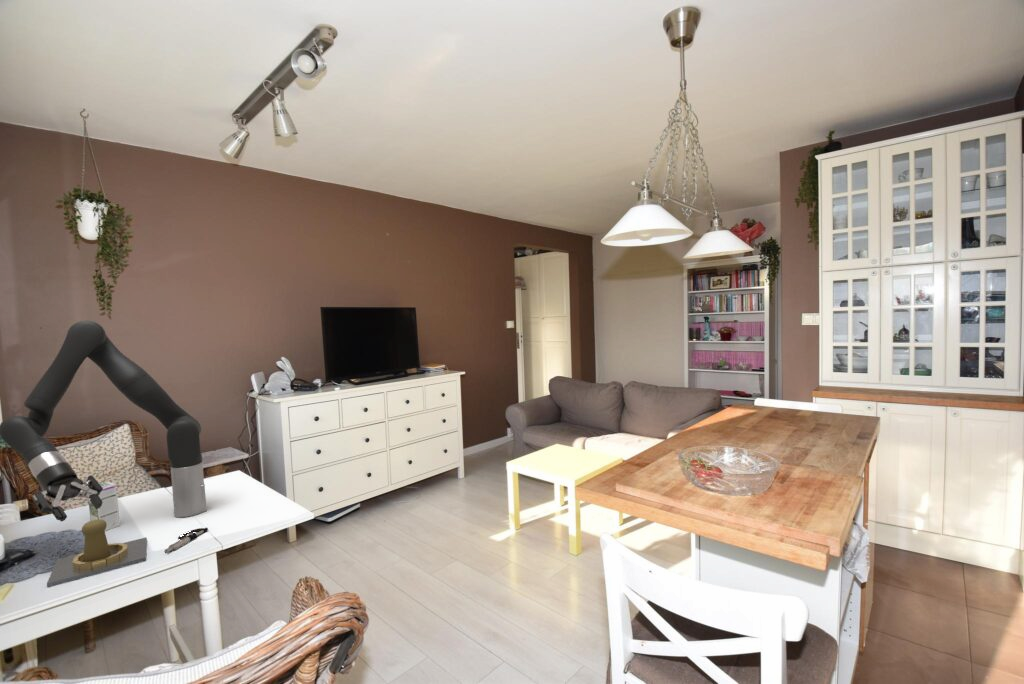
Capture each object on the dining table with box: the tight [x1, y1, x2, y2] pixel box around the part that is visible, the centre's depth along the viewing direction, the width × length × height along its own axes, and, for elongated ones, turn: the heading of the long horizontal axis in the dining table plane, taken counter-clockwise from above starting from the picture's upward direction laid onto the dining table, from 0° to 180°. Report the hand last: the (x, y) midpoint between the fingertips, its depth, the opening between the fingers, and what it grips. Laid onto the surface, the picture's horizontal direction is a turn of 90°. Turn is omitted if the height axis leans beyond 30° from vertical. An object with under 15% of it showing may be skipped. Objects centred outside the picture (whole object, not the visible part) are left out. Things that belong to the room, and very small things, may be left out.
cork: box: [81, 519, 111, 562], centre depth 132 cm, size 6×6×11 cm
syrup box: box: [87, 481, 121, 532], centre depth 156 cm, size 6×6×14 cm
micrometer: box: [164, 527, 209, 554], centre depth 145 cm, size 15×7×2 cm, turn 170°
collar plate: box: [46, 537, 148, 588], centre depth 133 cm, size 20×16×2 cm
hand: (82, 512), depth 135 cm, fingers open, 8 cm apart
